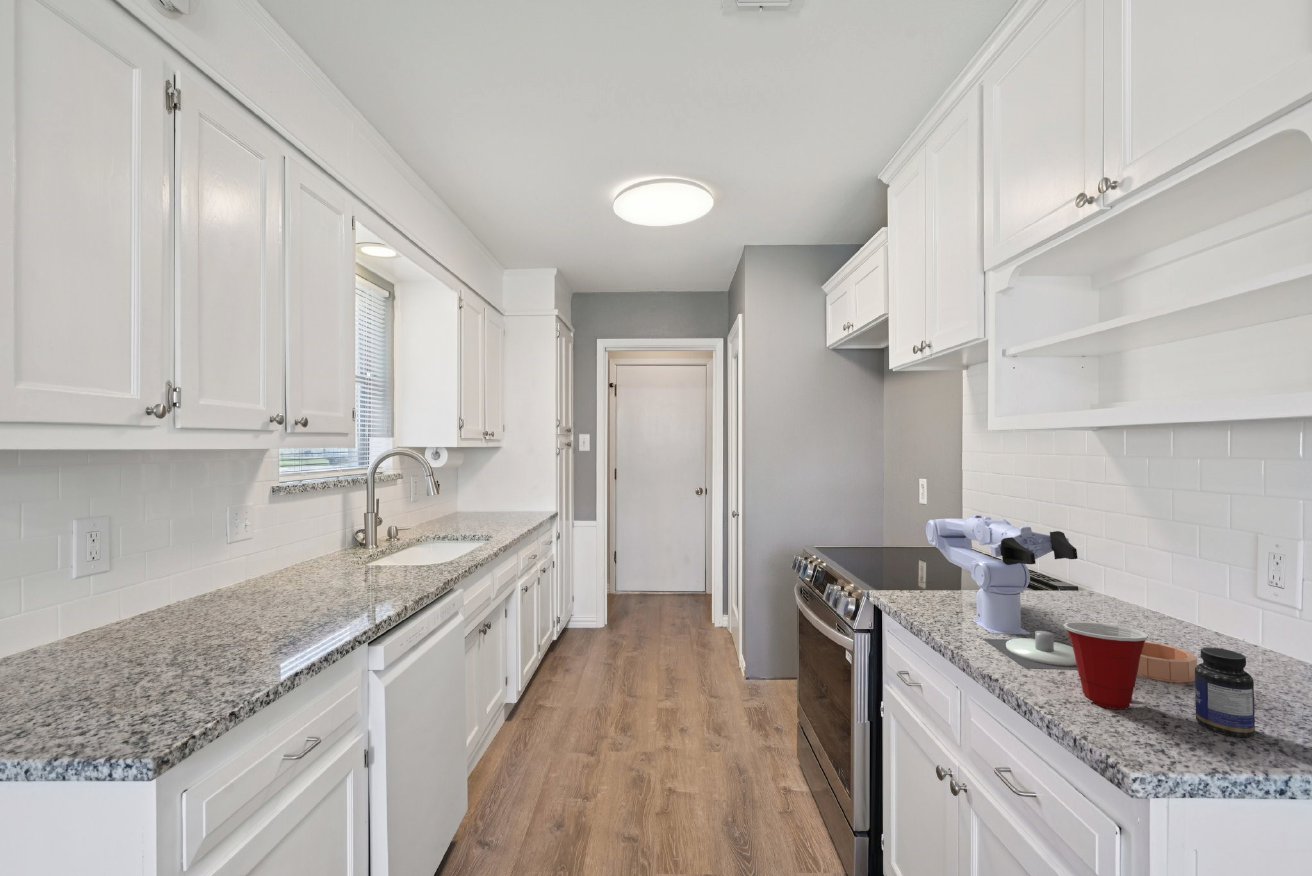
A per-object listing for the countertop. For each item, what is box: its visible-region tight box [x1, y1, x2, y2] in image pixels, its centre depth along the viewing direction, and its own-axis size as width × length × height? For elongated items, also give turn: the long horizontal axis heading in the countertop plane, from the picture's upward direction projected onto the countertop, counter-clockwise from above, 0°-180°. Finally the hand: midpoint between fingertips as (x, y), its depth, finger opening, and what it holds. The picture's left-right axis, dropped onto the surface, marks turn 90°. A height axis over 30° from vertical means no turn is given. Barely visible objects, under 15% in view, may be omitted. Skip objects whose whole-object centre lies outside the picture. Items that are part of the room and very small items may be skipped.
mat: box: [982, 638, 1078, 671], centre depth 111 cm, size 16×16×1 cm
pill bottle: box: [1194, 646, 1256, 738], centre depth 82 cm, size 6×6×11 cm
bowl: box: [1137, 640, 1198, 683], centre depth 102 cm, size 11×11×4 cm
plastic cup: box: [1063, 621, 1149, 710], centre depth 91 cm, size 11×11×12 cm
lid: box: [1006, 630, 1077, 666], centre depth 111 cm, size 13×13×4 cm
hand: (1054, 556), depth 107 cm, fingers open, 7 cm apart
